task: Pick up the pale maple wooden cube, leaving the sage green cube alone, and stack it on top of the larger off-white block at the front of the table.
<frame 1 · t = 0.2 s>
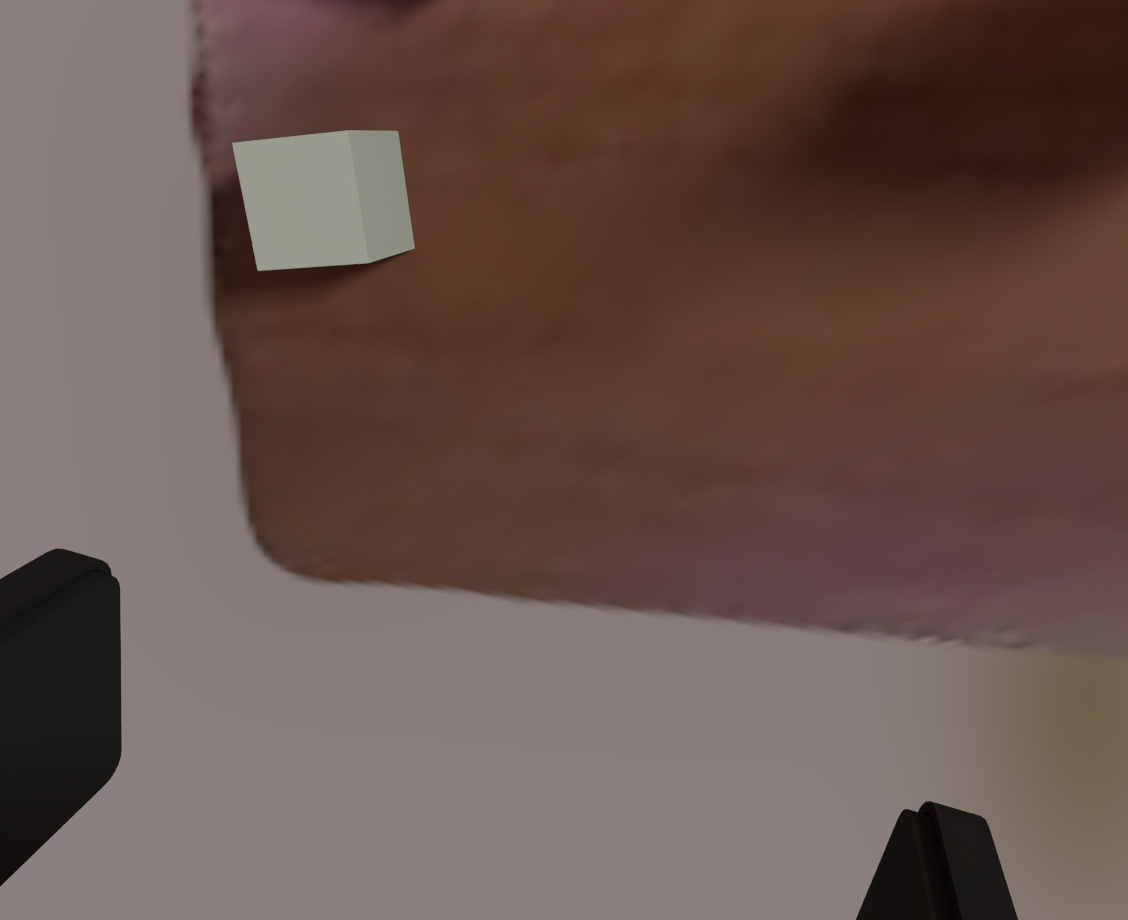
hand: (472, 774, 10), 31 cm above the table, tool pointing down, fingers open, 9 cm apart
sage cube: (355, 195, 40), on the table
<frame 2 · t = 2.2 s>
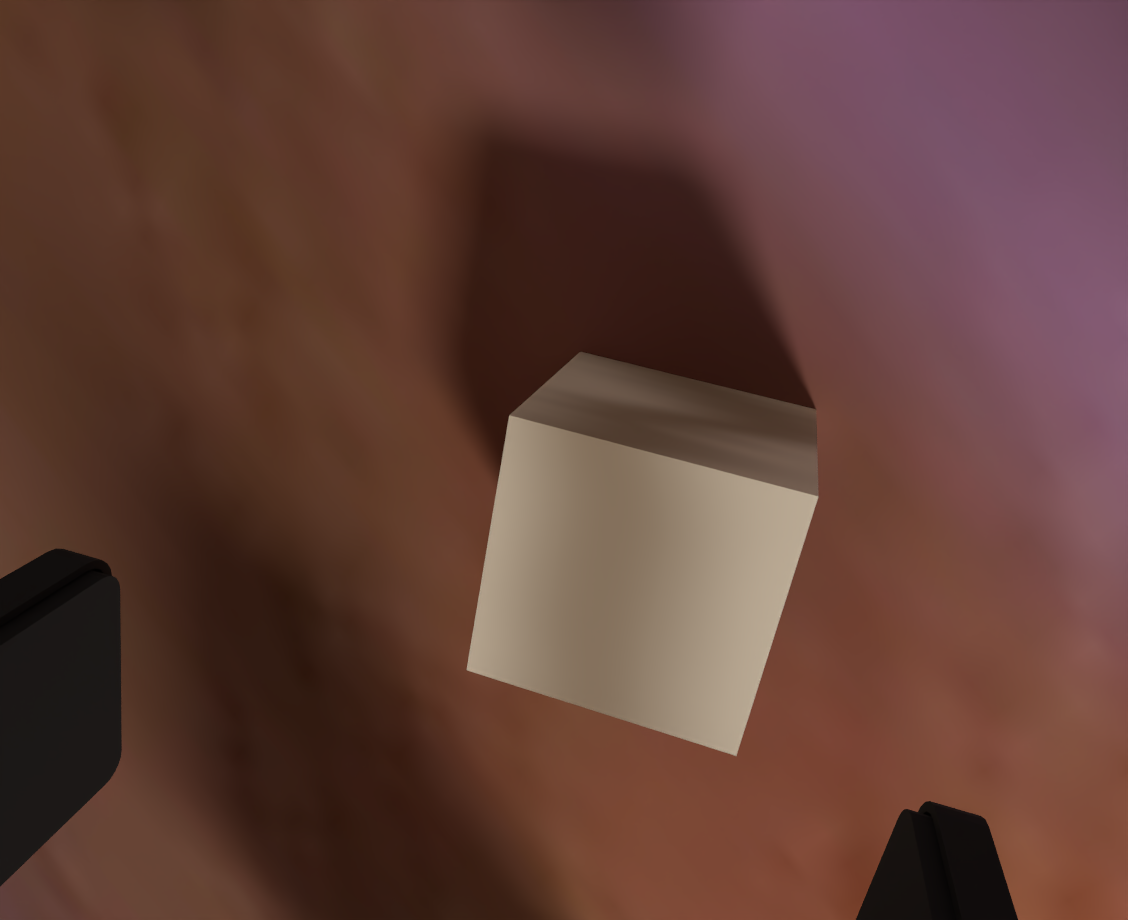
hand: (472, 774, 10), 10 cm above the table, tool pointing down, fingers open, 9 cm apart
maple cube: (669, 486, 19), on the table
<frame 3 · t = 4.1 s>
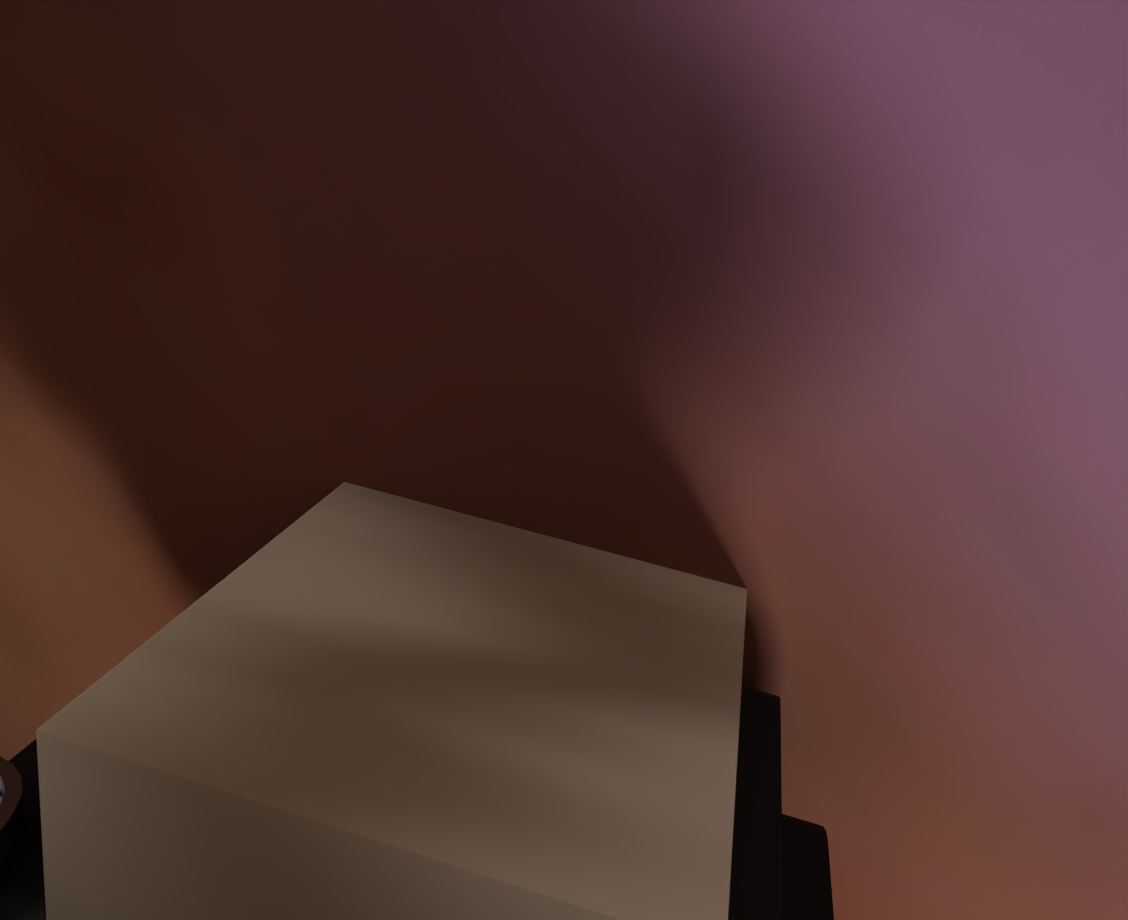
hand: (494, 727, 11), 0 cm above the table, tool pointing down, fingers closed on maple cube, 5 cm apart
maple cube: (507, 702, 12), on the table, touching gripper
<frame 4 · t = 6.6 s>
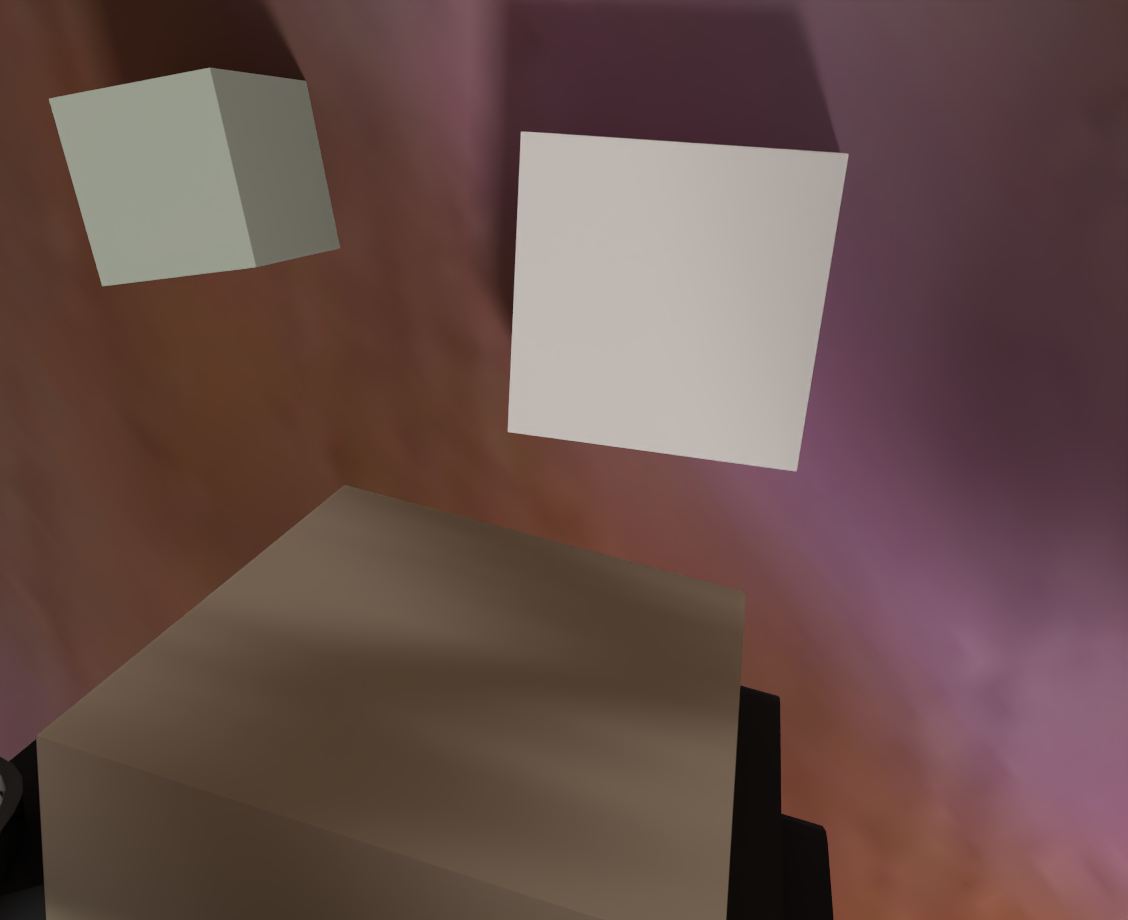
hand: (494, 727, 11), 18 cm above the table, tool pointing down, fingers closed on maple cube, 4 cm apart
base block: (679, 283, 27), on the table
sage cube: (254, 177, 29), on the table
maple cube: (506, 706, 12), point 17 cm above the table, touching gripper
when the fingers open (6 cm above the table, at t = 9.0 s): maple cube drops 2 cm, resting on base block.
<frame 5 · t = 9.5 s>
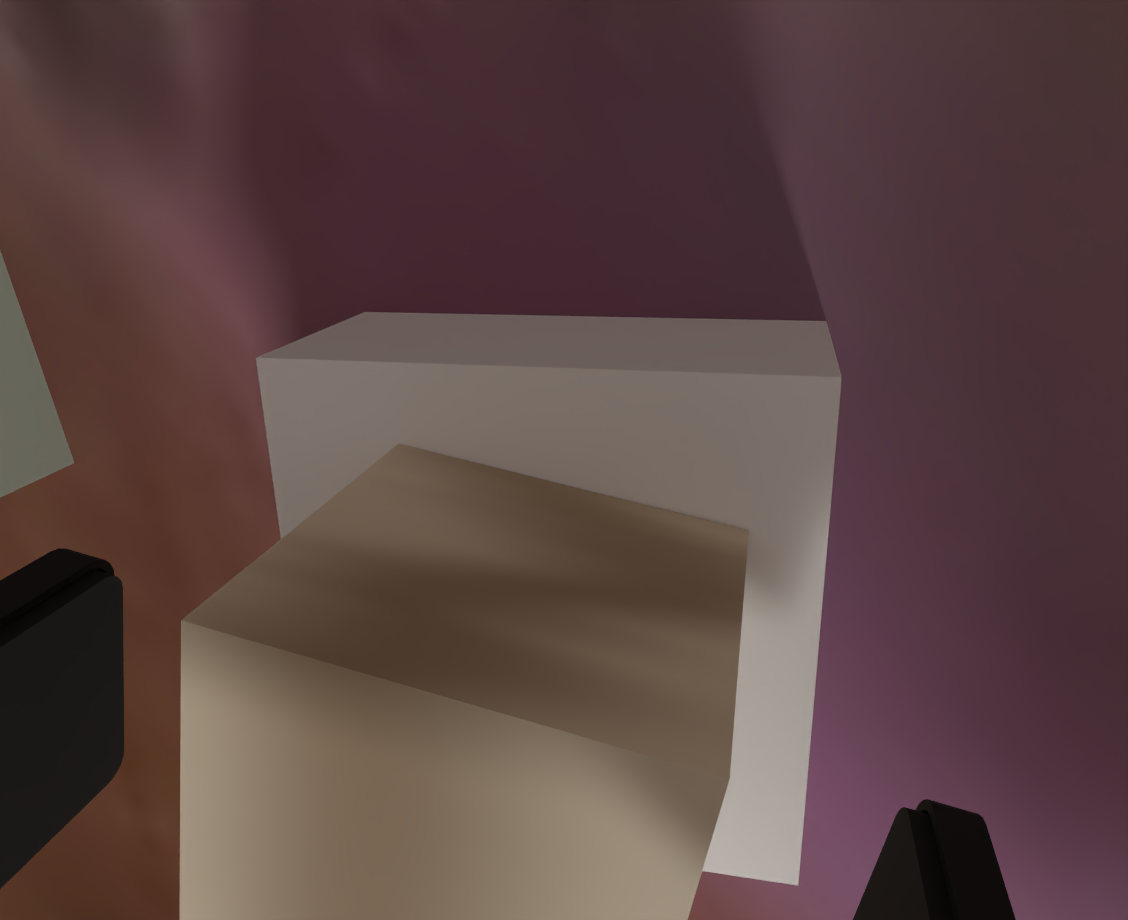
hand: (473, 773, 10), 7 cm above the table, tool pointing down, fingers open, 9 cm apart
base block: (589, 523, 17), on the table, touching maple cube
maple cube: (540, 638, 13), point 4 cm above the table, touching base block
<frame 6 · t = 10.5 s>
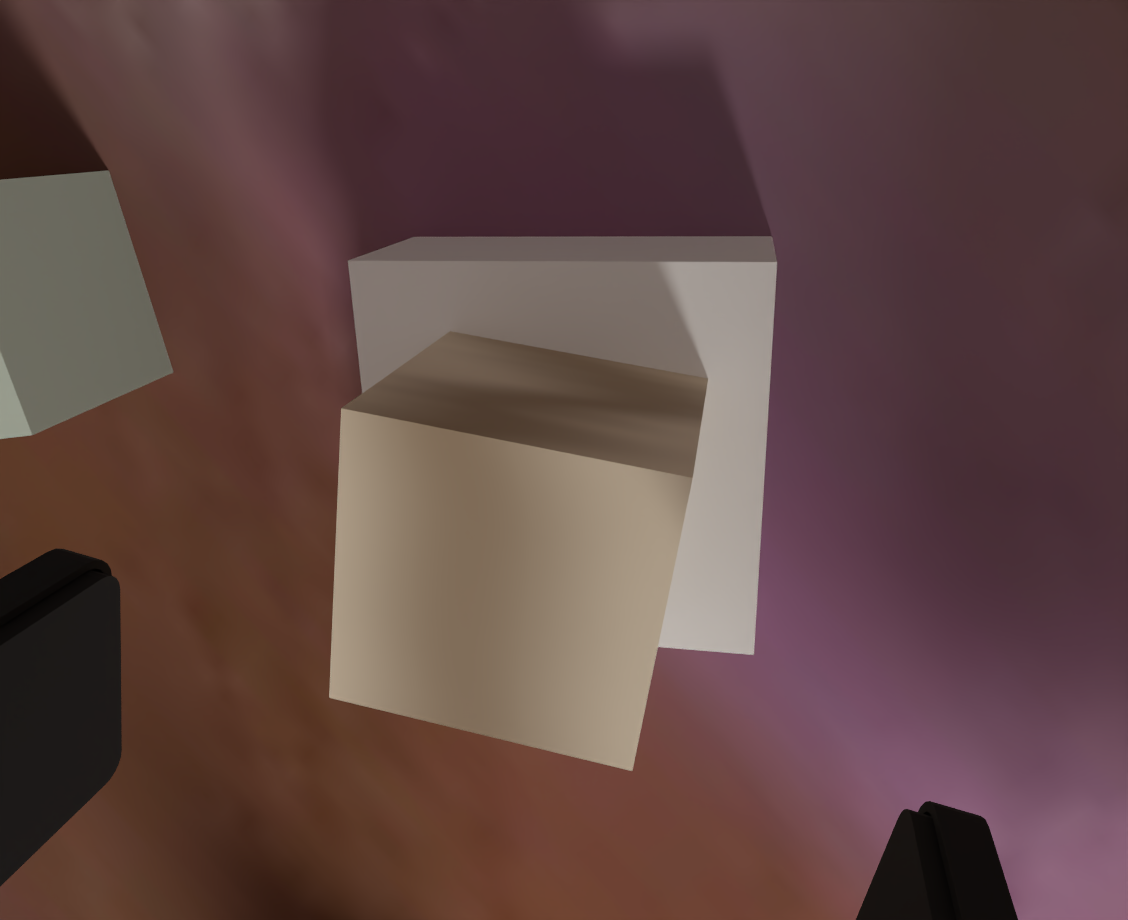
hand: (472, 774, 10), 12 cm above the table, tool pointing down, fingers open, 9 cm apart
base block: (590, 405, 21), on the table, touching maple cube
sage cube: (60, 288, 23), on the table
maple cube: (559, 474, 18), point 4 cm above the table, touching base block
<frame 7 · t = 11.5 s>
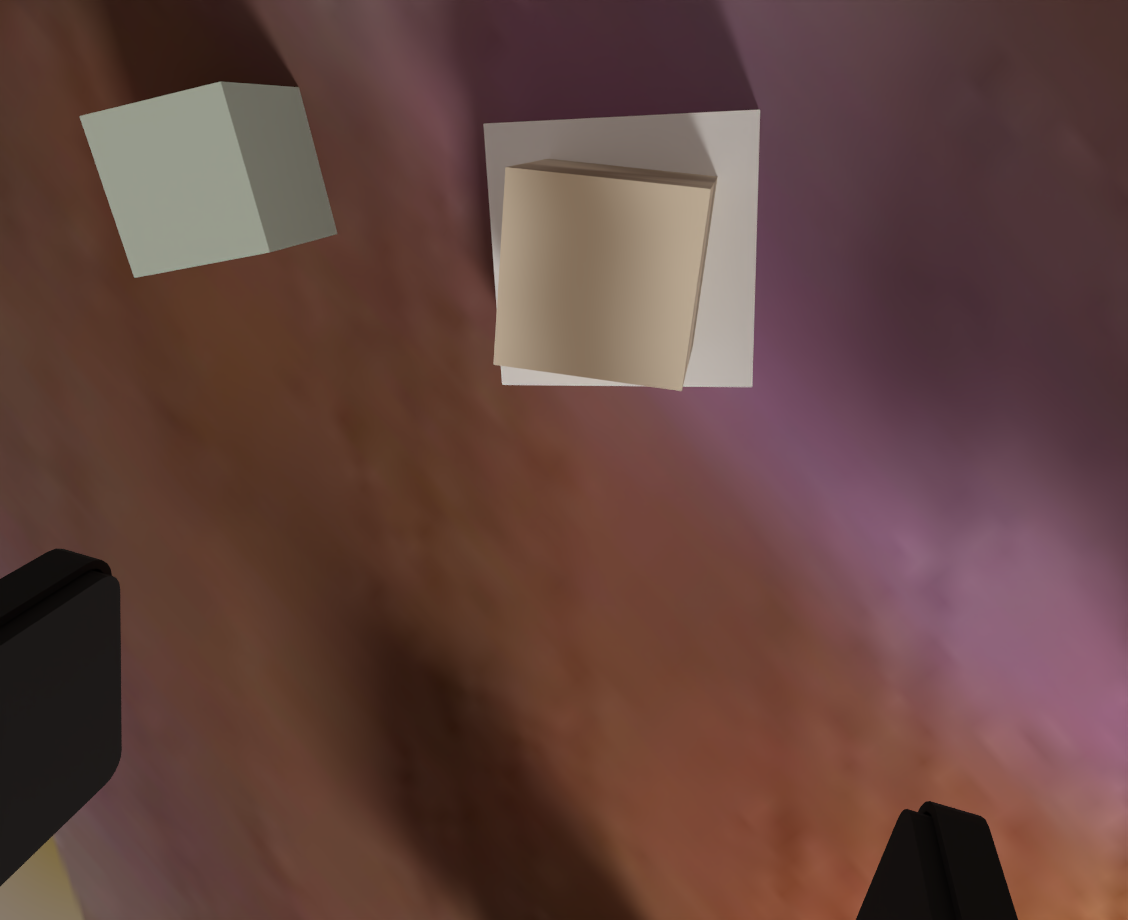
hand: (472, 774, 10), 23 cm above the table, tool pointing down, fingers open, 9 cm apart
base block: (636, 241, 31), on the table
sage cube: (257, 175, 32), on the table
maple cube: (621, 254, 27), point 4 cm above the table
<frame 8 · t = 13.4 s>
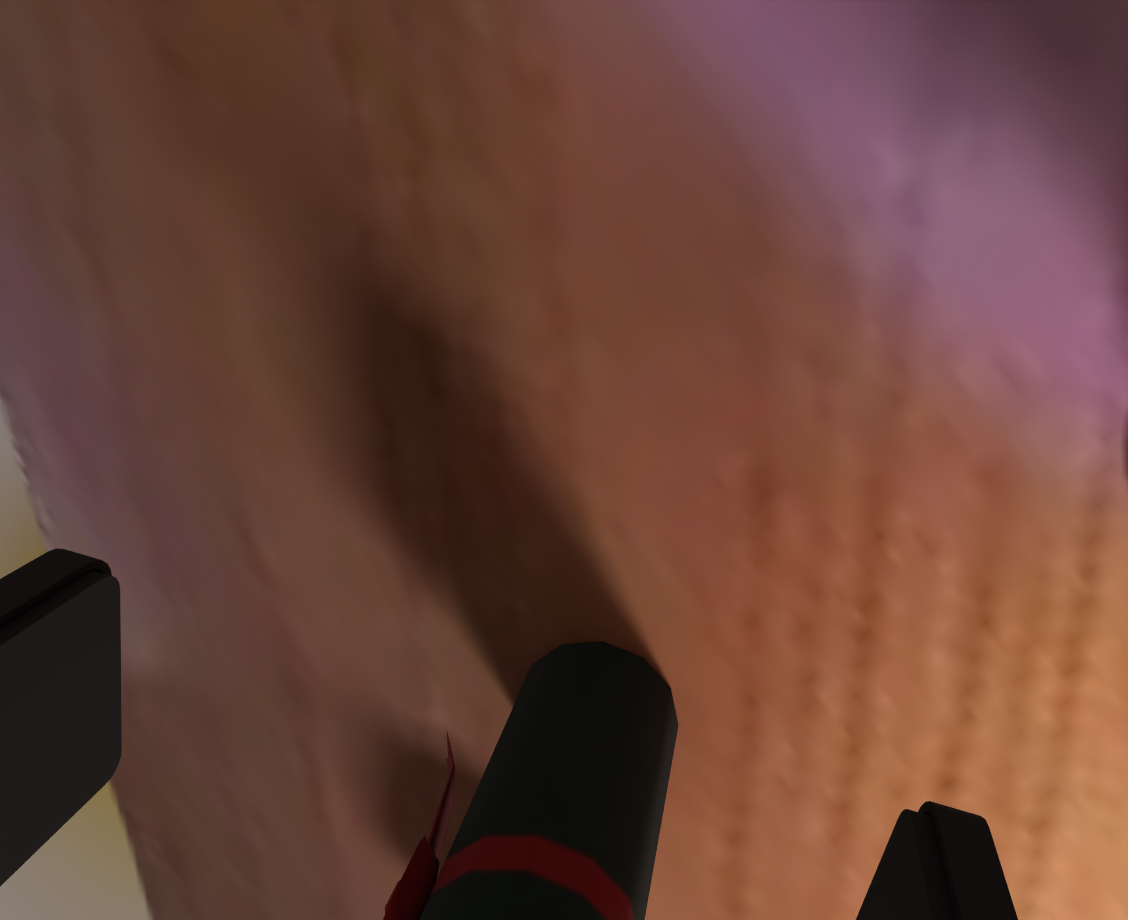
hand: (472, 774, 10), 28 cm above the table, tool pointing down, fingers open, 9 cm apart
wine bottle: (575, 704, 44), on the table
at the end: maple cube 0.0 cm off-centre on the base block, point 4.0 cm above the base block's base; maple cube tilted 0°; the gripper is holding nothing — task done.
